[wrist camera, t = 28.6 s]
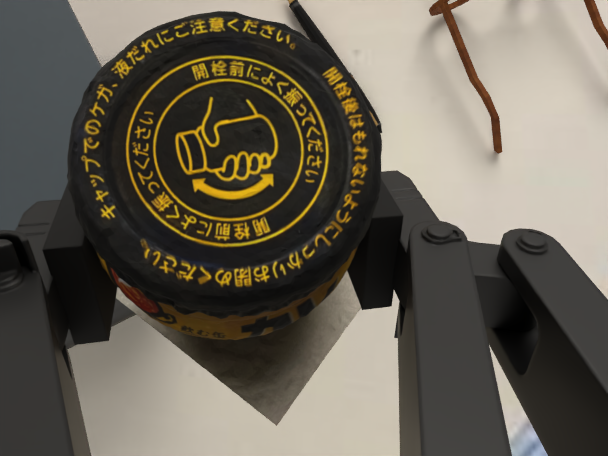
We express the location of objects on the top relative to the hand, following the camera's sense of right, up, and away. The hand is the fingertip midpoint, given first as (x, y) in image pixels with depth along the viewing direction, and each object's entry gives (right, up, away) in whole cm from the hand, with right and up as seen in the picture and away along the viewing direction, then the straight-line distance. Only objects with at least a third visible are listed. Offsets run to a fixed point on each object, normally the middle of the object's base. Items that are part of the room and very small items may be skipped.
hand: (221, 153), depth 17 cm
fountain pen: (+5, +11, +26) cm, 28 cm away
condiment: (0, -4, +3) cm, 5 cm away
